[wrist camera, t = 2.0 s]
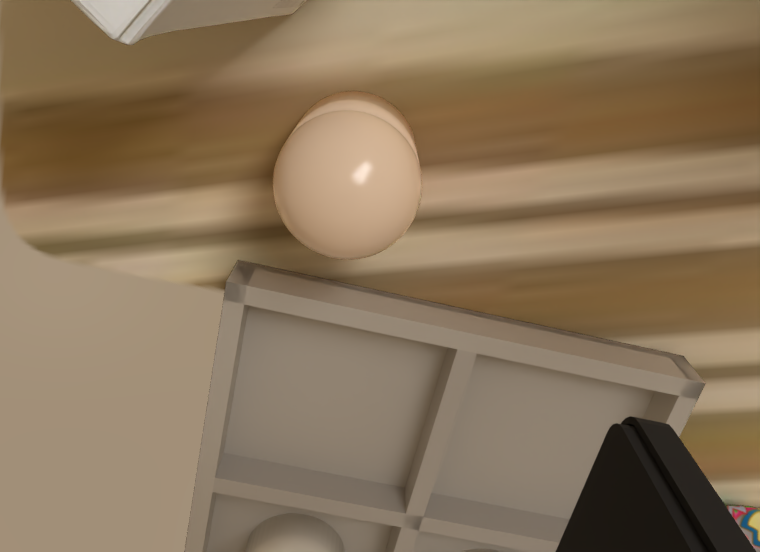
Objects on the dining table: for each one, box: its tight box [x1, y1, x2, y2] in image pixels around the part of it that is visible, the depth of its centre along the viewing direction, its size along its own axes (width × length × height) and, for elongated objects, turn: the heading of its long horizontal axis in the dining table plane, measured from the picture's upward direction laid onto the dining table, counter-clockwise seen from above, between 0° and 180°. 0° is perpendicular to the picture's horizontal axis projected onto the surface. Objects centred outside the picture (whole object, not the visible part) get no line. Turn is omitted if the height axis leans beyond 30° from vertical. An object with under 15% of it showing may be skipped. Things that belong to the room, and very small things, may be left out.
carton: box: [184, 260, 706, 552], centre depth 31 cm, size 19×19×2 cm
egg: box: [273, 91, 422, 260], centre depth 23 cm, size 5×5×7 cm
